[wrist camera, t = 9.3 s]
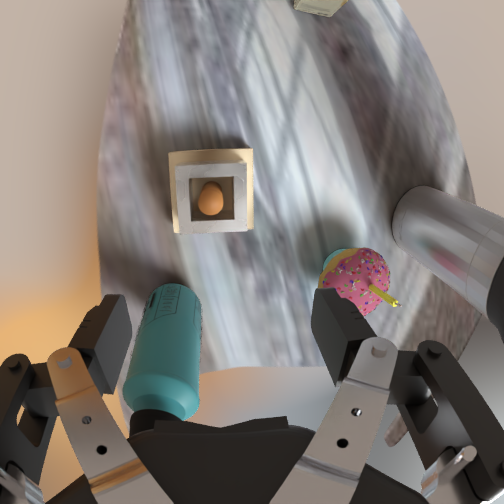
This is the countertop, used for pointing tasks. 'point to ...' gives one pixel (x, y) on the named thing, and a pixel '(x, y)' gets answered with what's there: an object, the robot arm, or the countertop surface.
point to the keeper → (212, 182)
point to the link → (225, 218)
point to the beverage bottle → (165, 359)
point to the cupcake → (358, 277)
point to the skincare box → (319, 6)
